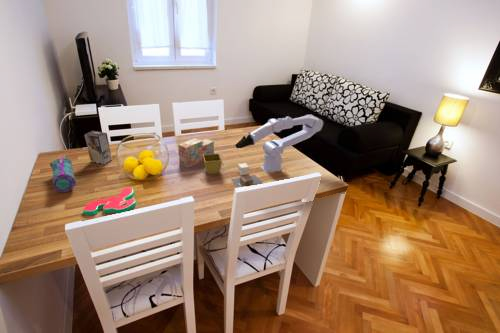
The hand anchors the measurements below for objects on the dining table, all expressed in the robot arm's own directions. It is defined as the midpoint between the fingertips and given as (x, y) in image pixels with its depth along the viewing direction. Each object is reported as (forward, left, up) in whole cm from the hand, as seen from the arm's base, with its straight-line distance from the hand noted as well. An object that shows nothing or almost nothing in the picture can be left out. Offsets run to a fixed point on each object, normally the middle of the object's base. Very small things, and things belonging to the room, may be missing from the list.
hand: (237, 146), depth 140 cm
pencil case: (+79, -23, -17) cm, 84 cm away
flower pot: (+11, -8, -17) cm, 21 cm away
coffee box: (+63, -41, -17) cm, 77 cm away
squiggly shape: (+61, +3, -17) cm, 63 cm away
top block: (-4, -1, -17) cm, 17 cm away
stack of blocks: (+14, -25, -17) cm, 33 cm away
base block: (0, +11, -16) cm, 20 cm away
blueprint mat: (-2, +10, -17) cm, 20 cm away
